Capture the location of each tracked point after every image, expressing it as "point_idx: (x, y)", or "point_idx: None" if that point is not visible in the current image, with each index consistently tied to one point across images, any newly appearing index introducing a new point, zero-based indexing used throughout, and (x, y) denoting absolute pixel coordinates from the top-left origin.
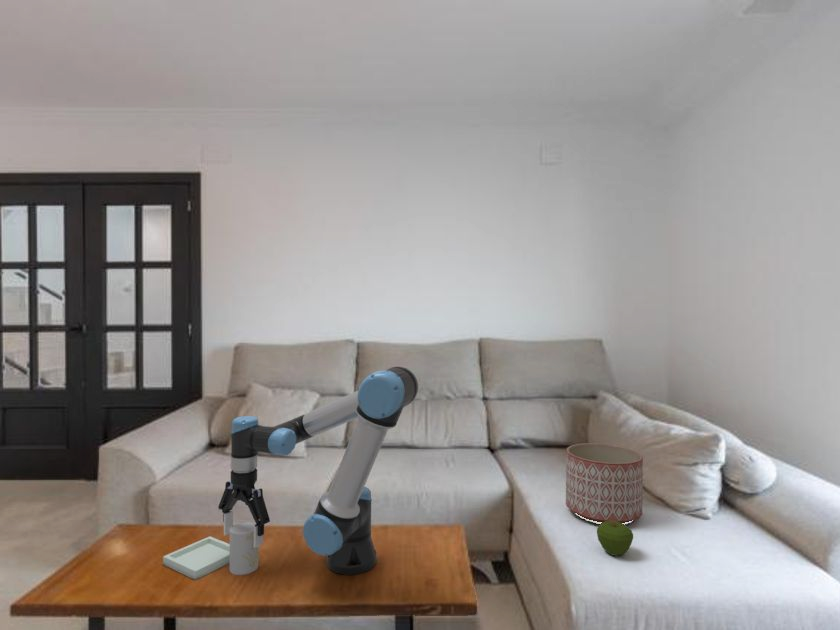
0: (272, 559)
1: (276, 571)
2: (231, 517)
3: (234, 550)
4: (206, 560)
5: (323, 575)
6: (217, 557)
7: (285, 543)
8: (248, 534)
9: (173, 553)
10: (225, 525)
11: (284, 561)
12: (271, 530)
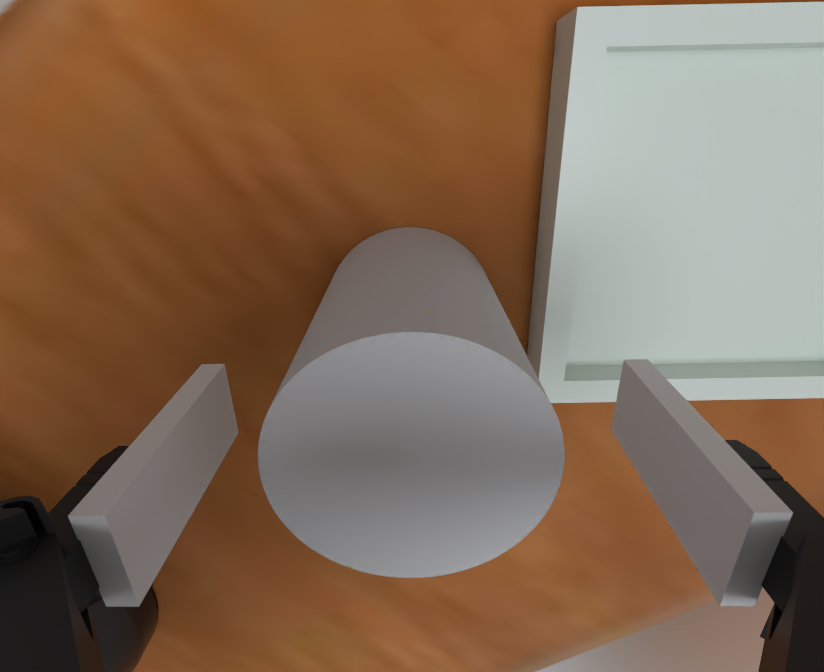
0: None
1: (228, 380)
2: (684, 526)
3: (386, 274)
4: (670, 214)
5: (19, 472)
6: (632, 280)
7: None
8: (265, 417)
9: None
10: (670, 415)
11: None
12: (604, 604)
